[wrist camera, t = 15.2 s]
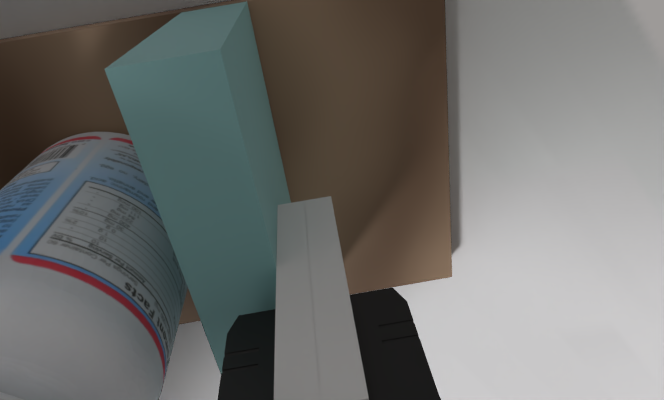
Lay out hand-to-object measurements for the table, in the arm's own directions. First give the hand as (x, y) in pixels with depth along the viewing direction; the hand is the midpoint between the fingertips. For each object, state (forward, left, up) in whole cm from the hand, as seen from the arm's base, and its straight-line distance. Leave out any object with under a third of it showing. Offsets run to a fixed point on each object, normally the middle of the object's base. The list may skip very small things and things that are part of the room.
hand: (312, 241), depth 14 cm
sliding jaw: (-2, 0, -4) cm, 5 cm away
